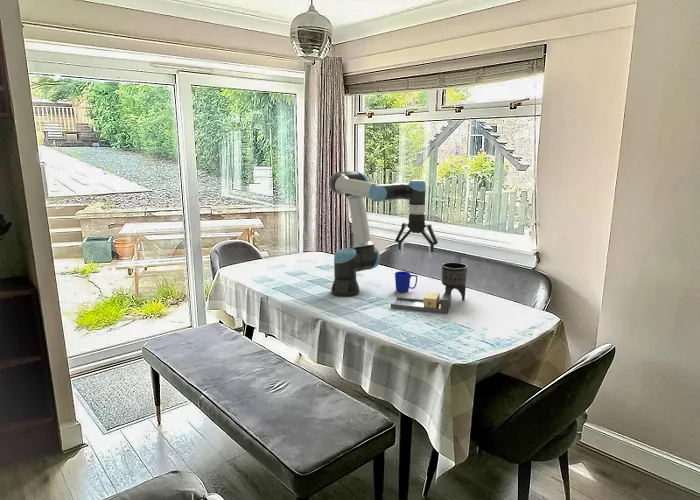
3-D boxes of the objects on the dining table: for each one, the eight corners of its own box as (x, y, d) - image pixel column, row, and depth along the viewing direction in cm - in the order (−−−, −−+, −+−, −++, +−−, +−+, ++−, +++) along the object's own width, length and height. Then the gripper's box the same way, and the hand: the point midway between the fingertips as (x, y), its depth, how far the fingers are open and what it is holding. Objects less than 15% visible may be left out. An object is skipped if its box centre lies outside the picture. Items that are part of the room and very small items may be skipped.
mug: (416, 294, 251) (417, 275, 249) (393, 292, 254) (394, 274, 252) (417, 289, 259) (418, 271, 257) (395, 288, 262) (395, 270, 259)
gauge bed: (390, 308, 230) (390, 303, 230) (397, 300, 241) (397, 296, 241) (446, 314, 221) (446, 310, 221) (450, 306, 232) (450, 302, 232)
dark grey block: (440, 311, 222) (440, 299, 220) (444, 303, 233) (444, 292, 231) (446, 312, 221) (447, 300, 219) (450, 304, 232) (451, 292, 230)
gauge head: (422, 309, 223) (422, 299, 222) (427, 301, 234) (427, 292, 233) (437, 311, 221) (437, 301, 220) (441, 303, 232) (442, 293, 231)
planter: (467, 296, 247) (468, 263, 243) (464, 304, 235) (466, 269, 231) (442, 294, 251) (443, 261, 247) (438, 301, 239) (439, 267, 235)
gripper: (389, 213, 223) (388, 257, 227) (442, 215, 215) (440, 261, 219) (393, 211, 230) (392, 254, 234) (444, 213, 221) (443, 257, 226)
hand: (415, 257), depth 227 cm, fingers open, 13 cm apart
